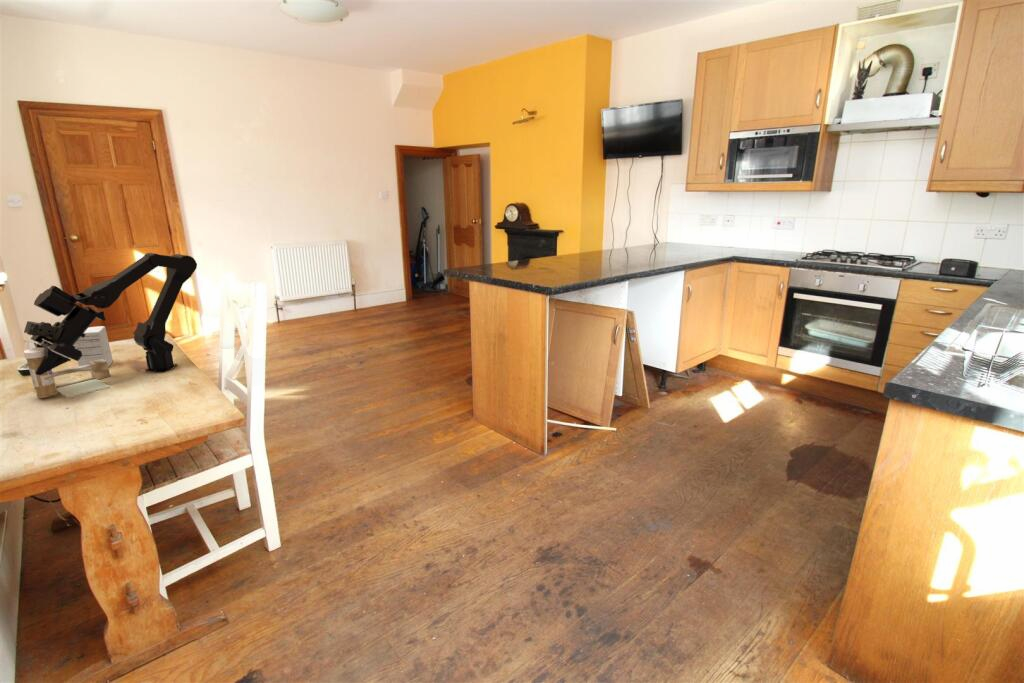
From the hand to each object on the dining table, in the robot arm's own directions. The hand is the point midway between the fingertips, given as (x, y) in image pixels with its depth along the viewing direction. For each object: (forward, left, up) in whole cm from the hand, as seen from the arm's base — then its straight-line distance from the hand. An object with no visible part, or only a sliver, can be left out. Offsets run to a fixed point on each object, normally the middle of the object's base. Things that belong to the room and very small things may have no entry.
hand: (34, 372), depth 136 cm
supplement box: (+7, -26, -8) cm, 28 cm away
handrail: (+1, -12, -8) cm, 14 cm away
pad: (-5, -8, -8) cm, 12 cm away
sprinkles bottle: (-1, -1, -7) cm, 7 cm away
